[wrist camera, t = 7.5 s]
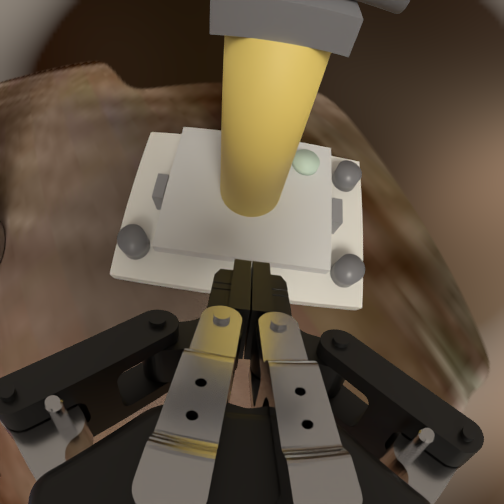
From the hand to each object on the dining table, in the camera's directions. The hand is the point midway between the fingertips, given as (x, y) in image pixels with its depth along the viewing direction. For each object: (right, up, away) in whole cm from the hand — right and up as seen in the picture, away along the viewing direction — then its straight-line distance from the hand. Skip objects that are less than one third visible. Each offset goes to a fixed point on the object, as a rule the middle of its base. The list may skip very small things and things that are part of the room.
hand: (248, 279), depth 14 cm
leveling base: (0, +5, +18) cm, 18 cm away
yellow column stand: (0, +6, +14) cm, 15 cm away
